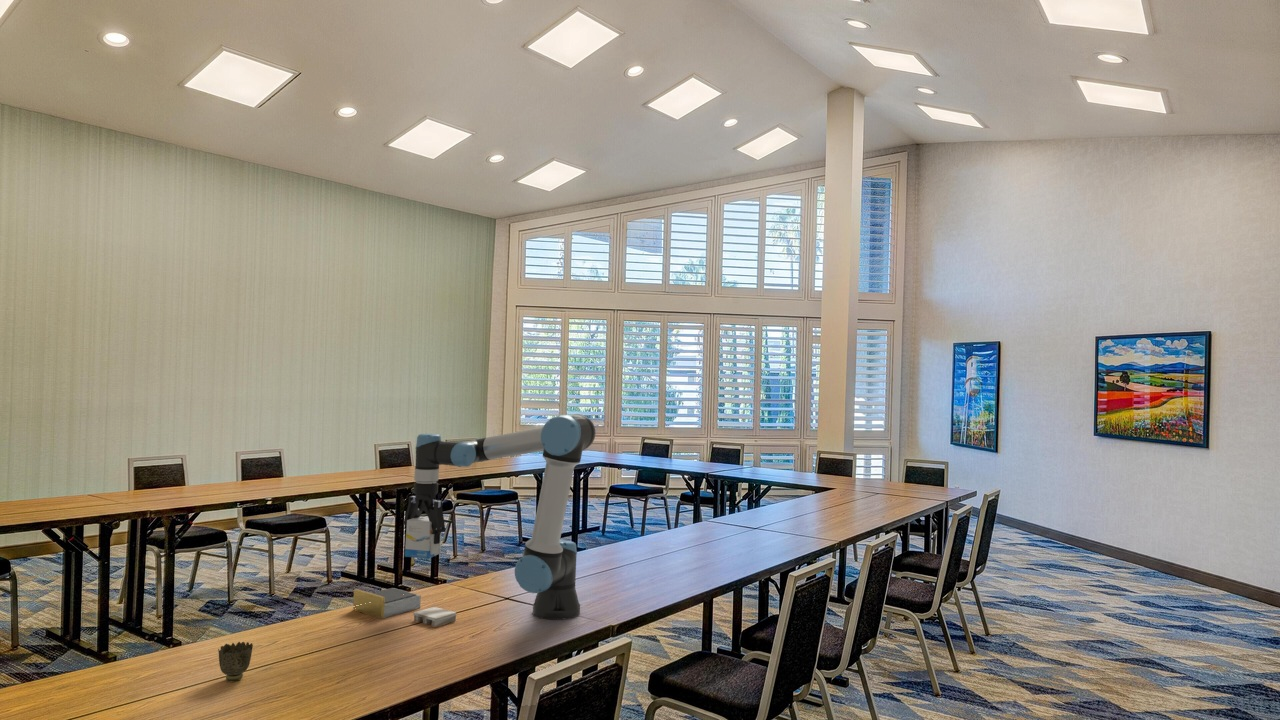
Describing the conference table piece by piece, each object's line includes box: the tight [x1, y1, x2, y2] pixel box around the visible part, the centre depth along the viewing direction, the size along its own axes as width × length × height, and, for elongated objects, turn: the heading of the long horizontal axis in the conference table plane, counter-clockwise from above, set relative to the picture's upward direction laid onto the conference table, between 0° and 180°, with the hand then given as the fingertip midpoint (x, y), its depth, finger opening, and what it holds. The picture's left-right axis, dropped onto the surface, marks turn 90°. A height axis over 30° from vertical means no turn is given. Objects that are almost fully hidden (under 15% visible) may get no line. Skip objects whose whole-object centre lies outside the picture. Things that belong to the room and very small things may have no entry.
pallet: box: [413, 606, 457, 628], centre depth 237 cm, size 10×8×2 cm
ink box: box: [404, 515, 442, 560], centre depth 249 cm, size 9×8×12 cm
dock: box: [352, 587, 422, 619], centre depth 247 cm, size 14×15×6 cm
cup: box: [217, 641, 254, 682], centre depth 187 cm, size 8×7×8 cm
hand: (422, 550), depth 249 cm, fingers closed on ink box, 10 cm apart
